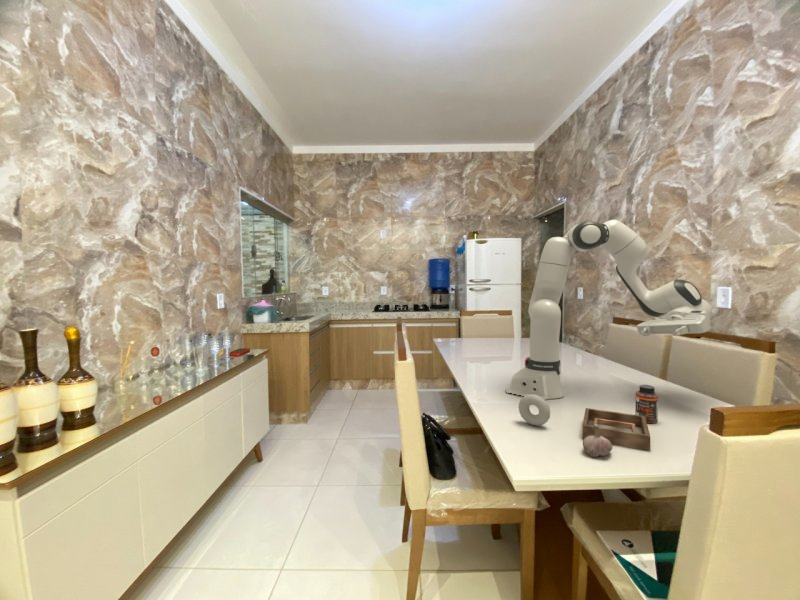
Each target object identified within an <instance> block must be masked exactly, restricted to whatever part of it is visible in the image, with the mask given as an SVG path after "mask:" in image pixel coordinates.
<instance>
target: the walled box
mask: <svg viewBox="0 0 800 600" xmlns="http://www.w3.org/2000/svg"><path fill="white" fill-rule="evenodd" d="M594 424H597V425H598V427H599V433H600V436H602V437H604V438H606V439H608V440H609V441H610V442H611V444H612V446H613V445H614V446H620V447H624V446H625V447H624V448H630V449H631V448H632V449H635V450H641V451H646V452H651V434H650V430H649V426H648V423H647V422H646V418H645V416H640V415H635V414H634V413H633V414H632V413H626V412H625V413H624V412H617V411H609V410H602V409H596V408H589V407H585V409H584V415H583V421H582V440H584V439H585V438H586V437H588V436H595V428H594Z"/></svg>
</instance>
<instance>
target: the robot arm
mask: <svg viewBox="0 0 800 600" xmlns="http://www.w3.org/2000/svg"><path fill="white" fill-rule="evenodd" d="M597 247H600V248H601V247H602V249H604V250H606V251H607V252H608V253H609V254H610V255H611V256H612V258H613V259H614V261H615V263H616V266H615V271H616V273H617V275H618V276H619V278H620V280H621V281H622V282H623V284H624V286H625V287H626V288H627V289H628V290H629V292H630V293H631V294H632V296H633V297H634V299H635V300H636V301H637V303H638V305H639V308H640V309H641V311H642V312H643V313H645V315H647V316H650V317H654V318H659V317H662V316H664V317H663V319H662V318H661V319H651V320H650V319H649V320H646V321H643V322H640V323H639V324H637V325H636V329H637V332H638V334H639V335H642V336H643V337H648V336H651V335H672V336H675V337H676V336H681V335H685V334H688V335H689V334H692V335H693V334H705V333H706V332H708V331H710V330H711V329H712V326H711V319H710V317H711V316H712V313H713V307H712V306H711V304H710V302H709V301H707V300H705V299H703V298H702V294H701V292H700V291H699V289H698V288H697V287H696V286H695V284H693V283H691V282H690V281H688V280H686V279H685V280H683V279H680V278H679V279H675V280H672V281H670V282H667V283H666V284H664V285H662V286H660V287H658V288H656V289H653V290H649V289H648V288H647V287H646V286H645V284H644V283H643V282H642V280H641V279H640V278H639V276H638V274H637V269H638V268H639V267H640V265H641V264H642V263H643V262H644V260H645V259H646V257H647V254H648V245H647V244H646V241H644V239H643V238H642V237H641V236H640V235H639V234H637V233H636V231H634V230H632V228H630V226H628V225H626V224H624V223H623V222H621V221H620V220H618V219H611V220H607V221H605V222H604V223H600V222H597V221H592V220H587V221H586V220H585V221H583V222H579V223H577V224H575V225H573V226H572V227H571V228H569V229H568V230H567V231H566V232H565V233H564V234H563V235H562V237H561V236H553V237H551V238H549V239H548V240H547V241H546V242H545V244H544V247H543V249H542V252H541V255H540V259H539V263H538V266H537V267H538V269H537V274H536V277H535V282H534V285H533V289H532V293H531V297H530V301H529V304H528V305H529V306H528V310H527V311H528V316H529V319H530V322H529V323H530V325H529V356H527V357H526V358H525V360H524V367H523V368H521V369H519V371H517V372H516V373H514V374H513V376H512V377H511V380H510V384H508V385H507V386H506V387H505V390H506V392H508V393H512V394H511V395H513V394H517V395H516V396H518V395H521V396H520V397H523V396H525V395H529V394H535V395H538V396H540V397H541V398H543V399H544V400H545V401H546V400H551V399H553V400H554V399H560V398H562V397H564V396H565V393H564V390H563V386H562V381H561V380H562V379H561V373H562V372H561V371H562V366H561V365H562V364H561V360H560V336H561V335H560V334H561V324H562V323H561V321H562V320H561V319H562V311H561V306H560V305H559V304H560V301H561V298H562V294H563V291H564V289H565V286H566V281H567V277H568V272H569V268H570V263H571V259H572V257H573V255H574V254H575V253H581V252H588V251H591V250H592V249H596V248H597ZM505 390H504V391H505ZM506 392H505V393H506ZM508 393H507V394H508Z"/></svg>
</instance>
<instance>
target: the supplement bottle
mask: <svg viewBox="0 0 800 600" xmlns="http://www.w3.org/2000/svg"><path fill="white" fill-rule="evenodd" d="M638 388H639V390H637V391H636V392H635V410H634V411H635V414H634V415H640V416H645V418H646V422H647V424H652V423H653V424H657V423H658V419H659V412H658V411H659V396H658V394H657V393H656V392H655V391H656V390H655V386H653V385H649V384H640V385H639V387H638ZM653 424H652V425H653Z"/></svg>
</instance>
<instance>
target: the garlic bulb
mask: <svg viewBox="0 0 800 600" xmlns="http://www.w3.org/2000/svg"><path fill="white" fill-rule="evenodd" d="M594 428H595V436H588V437H586V438H585V439H582V447H583V448H582V449H583V450H584V451H585V453H587V454H588V455H589V456H591V457H592V458H597V457H599V456H602V457H604V456H607V455H609V454H610V452H612V451H613V444H611V442H610V441H609V440H608V439H606V438H604V437H602V436H600V433H599V427H598V425H597V424H594Z"/></svg>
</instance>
